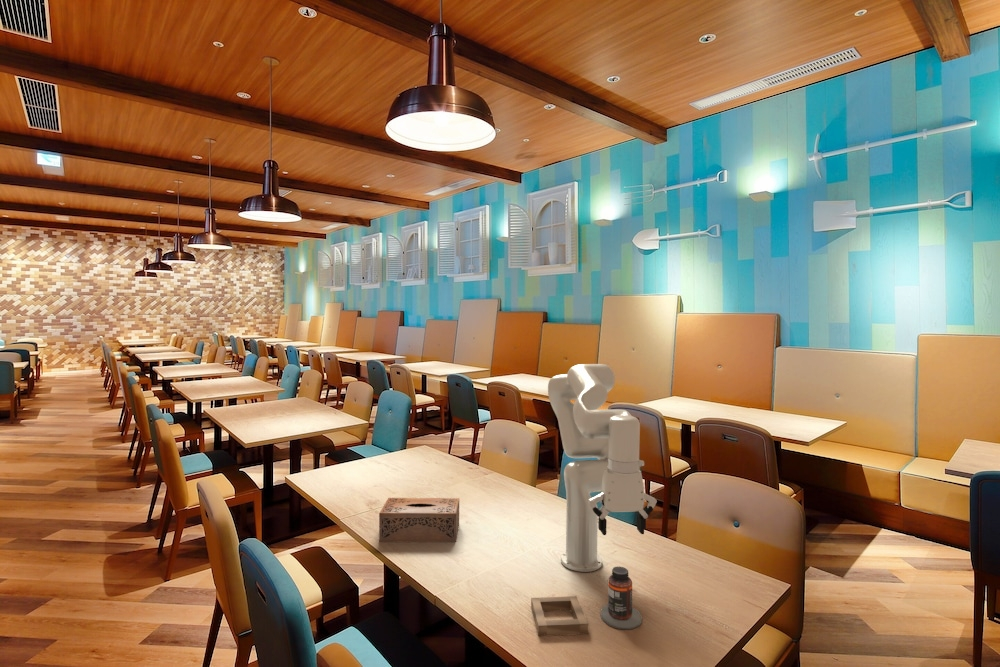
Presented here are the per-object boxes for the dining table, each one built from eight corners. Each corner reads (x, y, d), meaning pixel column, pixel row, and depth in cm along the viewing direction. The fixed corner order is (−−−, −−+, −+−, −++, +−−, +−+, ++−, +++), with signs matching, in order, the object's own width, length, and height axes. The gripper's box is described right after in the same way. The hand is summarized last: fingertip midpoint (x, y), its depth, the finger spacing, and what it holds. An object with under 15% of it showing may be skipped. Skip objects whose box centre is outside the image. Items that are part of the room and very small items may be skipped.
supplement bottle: (628, 607, 131) (628, 564, 131) (635, 620, 125) (636, 575, 125) (605, 607, 131) (606, 564, 131) (611, 621, 125) (611, 576, 125)
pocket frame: (531, 607, 132) (531, 597, 132) (576, 605, 133) (576, 596, 133) (538, 636, 120) (538, 625, 120) (588, 633, 121) (588, 623, 121)
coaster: (596, 606, 133) (596, 603, 132) (633, 605, 133) (633, 602, 133) (607, 630, 123) (607, 627, 123) (647, 628, 123) (647, 625, 123)
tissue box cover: (379, 542, 170) (379, 513, 170) (388, 524, 184) (388, 497, 184) (456, 542, 170) (456, 513, 170) (459, 525, 185) (459, 498, 184)
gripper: (651, 460, 131) (649, 525, 132) (585, 461, 130) (584, 526, 131) (662, 469, 124) (661, 538, 125) (593, 470, 122) (592, 540, 123)
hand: (621, 532), depth 128 cm, fingers open, 9 cm apart
